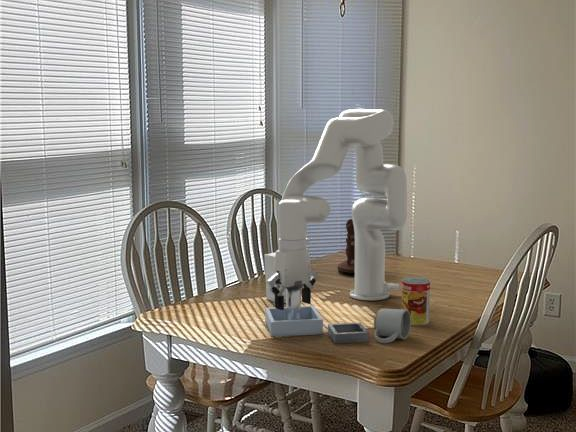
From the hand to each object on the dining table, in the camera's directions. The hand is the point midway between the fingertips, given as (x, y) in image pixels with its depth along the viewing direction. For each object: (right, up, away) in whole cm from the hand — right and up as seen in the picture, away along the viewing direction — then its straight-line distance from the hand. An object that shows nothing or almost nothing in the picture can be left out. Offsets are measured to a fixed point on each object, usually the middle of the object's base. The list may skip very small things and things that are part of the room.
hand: (293, 305), depth 208 cm
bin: (0, -6, +1) cm, 6 cm away
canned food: (+35, -5, +6) cm, 36 cm away
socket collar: (+14, -7, -8) cm, 18 cm away
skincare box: (-4, -2, +29) cm, 30 cm away
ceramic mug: (+26, -8, -9) cm, 28 cm away
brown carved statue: (+24, +4, +66) cm, 71 cm away
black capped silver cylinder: (0, -6, +1) cm, 6 cm away
